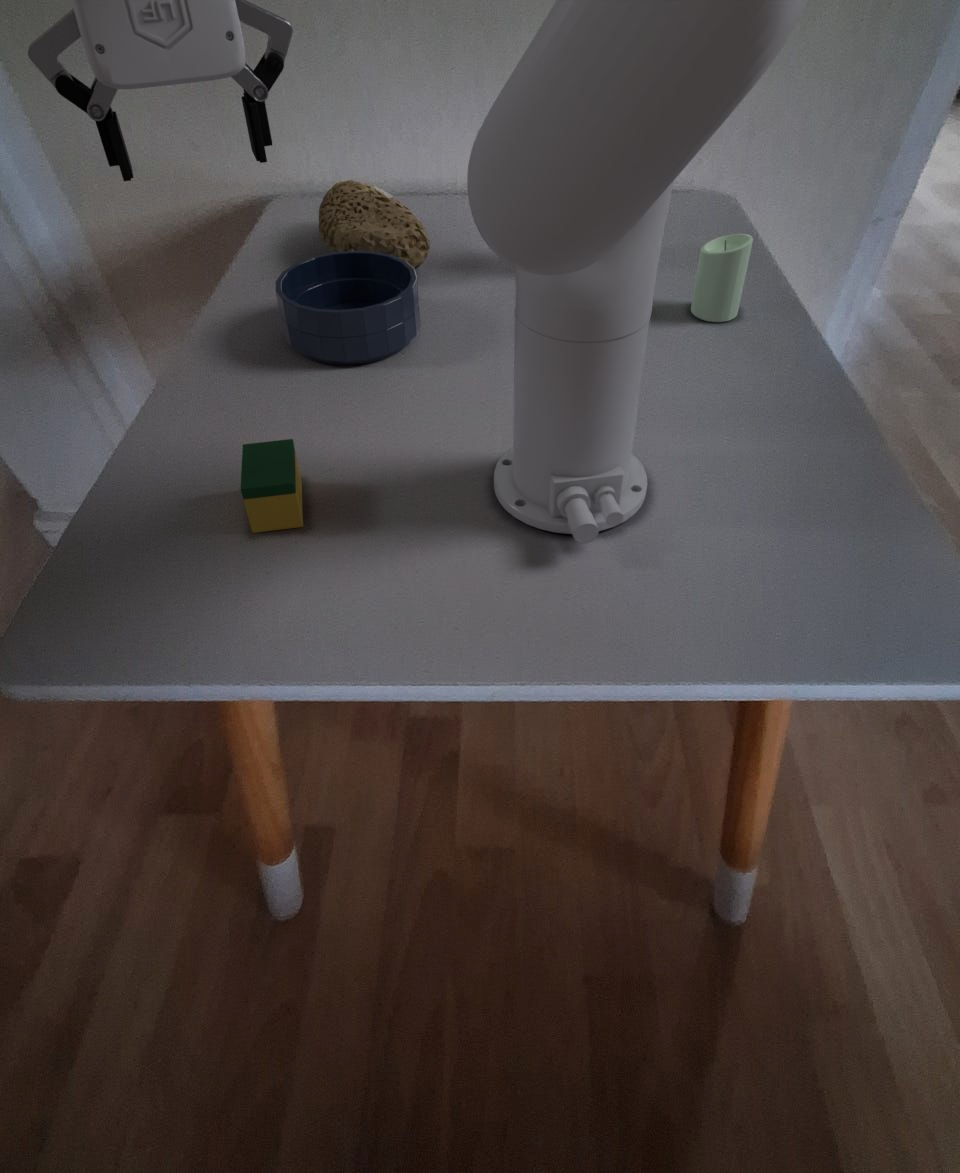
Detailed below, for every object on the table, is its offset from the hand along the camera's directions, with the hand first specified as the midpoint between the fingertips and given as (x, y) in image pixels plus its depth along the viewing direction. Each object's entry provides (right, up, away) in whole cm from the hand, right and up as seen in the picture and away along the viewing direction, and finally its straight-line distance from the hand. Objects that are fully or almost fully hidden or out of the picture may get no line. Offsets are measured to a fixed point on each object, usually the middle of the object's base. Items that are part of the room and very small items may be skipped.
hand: (195, 166), depth 63 cm
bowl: (+8, -4, +27) cm, 28 cm away
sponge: (+8, +10, +42) cm, 43 cm away
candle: (+47, -1, +29) cm, 55 cm away
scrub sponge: (+5, -25, +6) cm, 26 cm away
